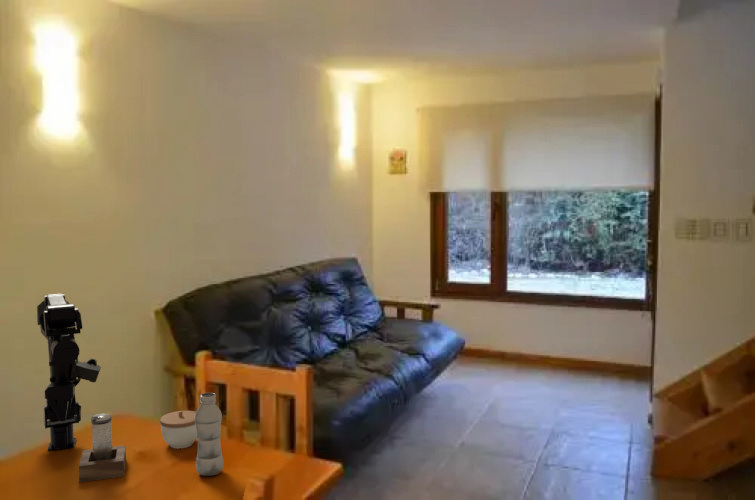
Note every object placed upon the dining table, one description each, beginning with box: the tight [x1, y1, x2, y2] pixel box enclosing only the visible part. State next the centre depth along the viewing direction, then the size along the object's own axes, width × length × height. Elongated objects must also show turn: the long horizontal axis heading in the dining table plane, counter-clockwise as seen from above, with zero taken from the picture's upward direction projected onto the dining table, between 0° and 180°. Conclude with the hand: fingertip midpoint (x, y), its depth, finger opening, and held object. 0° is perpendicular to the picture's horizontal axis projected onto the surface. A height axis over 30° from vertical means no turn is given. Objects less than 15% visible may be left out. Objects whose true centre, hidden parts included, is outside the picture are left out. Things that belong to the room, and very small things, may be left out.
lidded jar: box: [159, 410, 198, 450], centre depth 177 cm, size 11×11×9 cm
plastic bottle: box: [194, 392, 224, 477], centre depth 158 cm, size 6×7×20 cm
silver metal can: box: [91, 412, 113, 461], centre depth 160 cm, size 5×5×13 cm
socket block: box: [78, 444, 127, 483], centre depth 160 cm, size 10×10×4 cm
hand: (65, 415), depth 163 cm, fingers open, 9 cm apart
